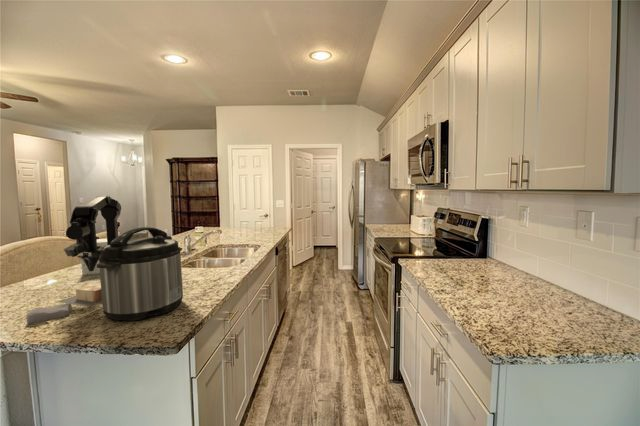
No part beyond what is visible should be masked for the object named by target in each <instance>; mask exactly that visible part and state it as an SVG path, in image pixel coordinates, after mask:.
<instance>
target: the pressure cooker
mask: <svg viewBox="0 0 640 426" xmlns="http://www.w3.org/2000/svg"><path fill="white" fill-rule="evenodd" d="M143 231H147V232H149V234H150V235H151V236H152V237H142V238H135V239H131V238H132V237H133V236H134V235H135V234H138V233H141V232H143ZM182 250H183V247H180V246H179V241H178V240H176V239H173V237H172V236H171V235H168V233H167V232H166V231H163V230H161V229H159V228H155V227H150V226H148V227H147V226H145V227H144V226H143V227H137V228H133V229H132V228H131V229H130V230H127V231H125V232H123V233H122V234H118V237H116V238H115V239H114V240H112V241H111V242H110V245H107V246H104V247H102V248H101V254H100V255H99V263H98V264H97V268H100V273H99V280H100V281H99V282H100V286H101V293H102V302H101V303H102V312H103V314H104V315H105V316H106V318H108V319H109V320H113V321H138V320H143V319H146V318H147V317H152V316H159V315H164V314H167V313H168V312H171V311H172V310H174V309H176V308H177V307H178V306H179V305H180V304H181V303H182V301H183V298H184V291H183V289H184V287H183V271H182V269H183V268H182Z"/></svg>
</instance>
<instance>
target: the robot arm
mask: <svg viewBox="0 0 640 426" xmlns="http://www.w3.org/2000/svg"><path fill="white" fill-rule="evenodd" d="M99 211H100V214H101V216H102V218H103V219H104V220H105V228H106V239H107V245H110V242H111V241H112V240H114V239H115V238H116V237H118V236H119V231H118V230H119V227H118V219H119V217H120V216H121V211H122V204H121V203H120V202H119V201H118V200H116V199H114V198H112V197H111V196H110V195H98V196H95V198H94V199H92V200H91V201H89V202H88V203H87V204H81V205H80V204H79V205H77V206H75V207H74V208H73V210H72V213H71V217H70V221H69V224H70V226H68V227H67V228H66V230H65V235H66V237H67V238H68V239H70V240H71V241H76V242H75V243H73V244H71V245H70V246H67V247H65V248H64V249H63V251H64V253H65V255H66V256H67V257H71V258H75V257H77V258H78V259H80V260H81V259H82V260H83V261H84V262H85V264H86V266H87V268H88V270H89V271H93V270H94V268H95V266H96V264H97V262H98V260H99V255H100V254H101V249H100V246H97V239H100V236H97V230H96V229H97V228H96V224H97V221H96V220H97V217H98V215H99ZM91 251H92V252H91Z"/></svg>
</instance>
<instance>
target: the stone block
mask: <svg viewBox="0 0 640 426" xmlns="http://www.w3.org/2000/svg"><path fill="white" fill-rule="evenodd" d="M72 310H73V306H72V304H69V303H64V304H58V305H56V306H47V307H43V306H42V307H35V308H33V309H31V310H30V311H29V312H27V314H26V323H27V324H28V325H32V324H36V323H37V324H38V323H43V322H49V321H50V320H51V319H58V318H63V317H68V316H70V314H71V313H70V312H71V311H72Z"/></svg>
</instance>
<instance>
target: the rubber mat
mask: <svg viewBox="0 0 640 426" xmlns="http://www.w3.org/2000/svg"><path fill="white" fill-rule="evenodd" d="M57 303H64V304H71V305H76V306H81V307H82V306H84V307H92V306H94V305H97V304H99V303H102V300H100V301H98V302H91V301H84V300H77V298H76V295H73V296H70V297H68V298H64V299H61V300H58V301H57Z"/></svg>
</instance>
